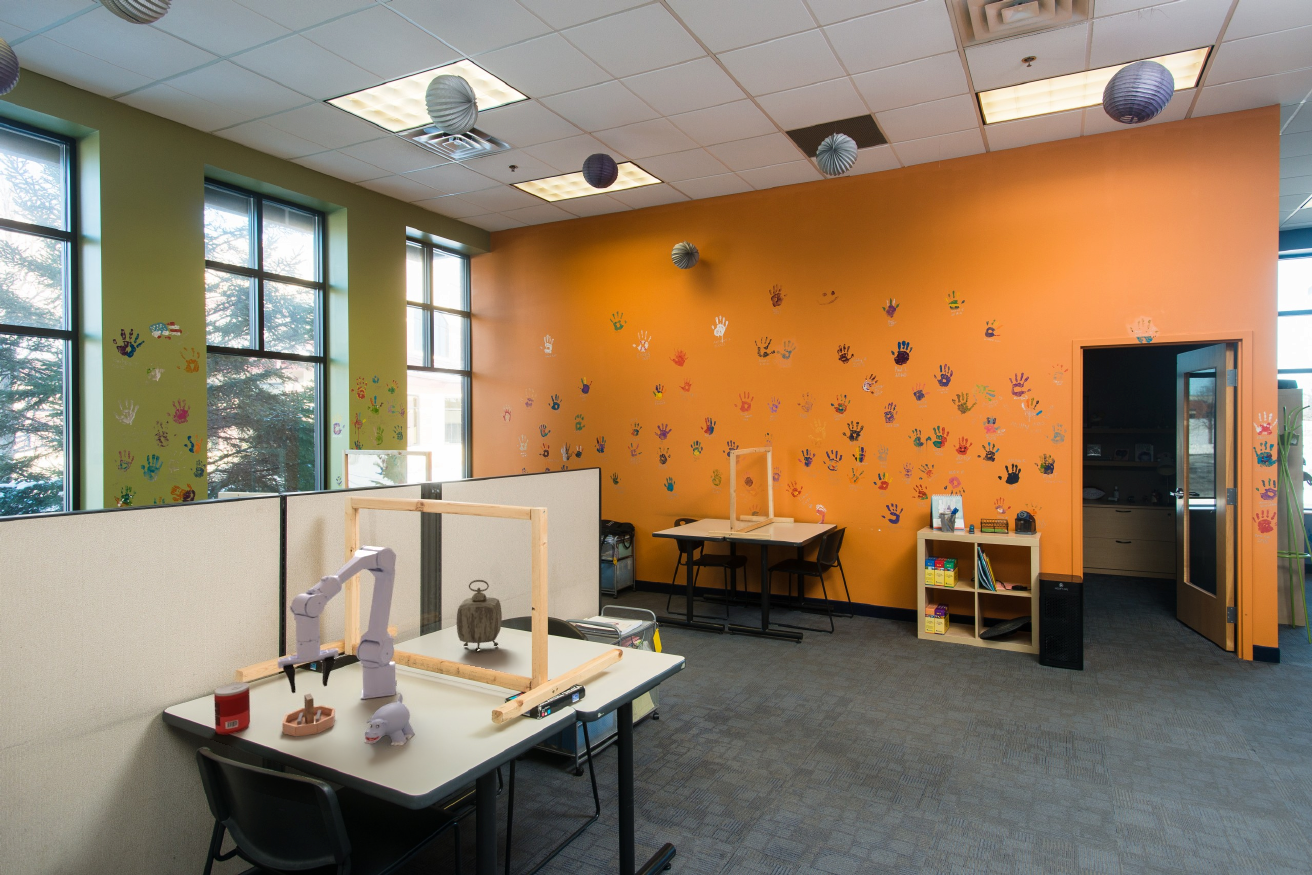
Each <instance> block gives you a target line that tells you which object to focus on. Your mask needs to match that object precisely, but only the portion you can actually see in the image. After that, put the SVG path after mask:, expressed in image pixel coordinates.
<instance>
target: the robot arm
mask: <svg viewBox="0 0 1312 875" xmlns="http://www.w3.org/2000/svg"><path fill="white" fill-rule="evenodd" d="M396 560H397V555H396V553H395V551H394V550H393V549H392V548H390V547H382V546H381V547H380V546H374V545H373V546H370V545H366V544H365V545H362V546H360V547H359V549H357V550H356V551H354V554H353V557H352V558H350V559H349V560H348V561H347V562H346V563H345V564H344V565H343V566H342V567H341V568H340V569H338V571H336V573H334V574H333V575H330V574H329V575H326V576H325V575H324V576H322V577H321V578H320V580H319V582H317V583H316V584H314V586H312V587H310V588H308V590H307V591H306V592H305V593H299V594H298V595H296V596H295V597H293V599H292V602H291V605H290V606H289V609H290V610H289V611H290V612H291V614H292V615H293V618H294V621H295V638H296V639H295V641H296V642H295V644H296V645H295V646H296V654H294V655H293V654H292V655H291V656H286V657H284V658H283V657H282V658H279V659H277V667H278V670H279V669H282V670H283V672H284V673H285V675H286V677H287V680H288V682H289V685H290V689H291V690H290V691H291V694H296V693H297V692H296V669H295V666H297V665H301V664H307V663H311V662H315V661H321V663H322V664H321V665H322V678H321V679H322V685H323V687H327V686H328V682H329V677H330V673H331V671H332V669H333V667H334V665H335V664H336V659H335V658H339V649H338V648H332V649H331V648H330V649H321V630H320V628H321V627H320V626H321V623H320V622H321V621H320V618H321V617H320V615H321V614H322V613H323V612H324V609H325V607H326V605H327V604H328V602H329V601H330V600H332V599H333V598H334V597H335V596H336V595H338V594H339V593H341V591H342V588H343V584H344V583H346V582H347V581H349V580H350V579H351V578H353V577H354V576H356V575H357V574H359V573H360V572H361V571H362V570H367V571H369V572H370V573H371V574H372V575H373V577H374V584H373V586H374V587H373V592H372V597H371V598H372V600H371V606H370V613H369V620H368V628H367V631H365V632H364V633H363V634H362V635H361V636H360V640H359V643H358V645H357V647H356V652H355V653H356V654H355V656H356V657H357V659H358V660H359V661H360V665H361V666H362V688H361V696H360V699H361V700H366V699H372V698H373V699H375V698H380V697H388V696H395V695H396V690H397V689H396V688H397V684H398V682H397V681H398V680H397V679H396V674H397V673H396V661H392V659H393V657H394V654H395V647H394V637H393V635H391V634H390V633H389V631H388V627H389V619H390V612H391V605H392V599H393V594H394V593H393V590H394V584H395V578H396V577H395V576H396V562H397V561H396Z"/></svg>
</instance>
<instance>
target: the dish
mask: <svg viewBox="0 0 1312 875" xmlns="http://www.w3.org/2000/svg"><path fill="white" fill-rule="evenodd" d="M335 720H336V708H335V707H331V706H326V705H314V723H311V724H307V723H306V721H305V707H302V708H299V709H296V710H294V711H292V712H289V713H288V714H285V715H284V717H283V720H282V724H281V725H282V734H286V735H290V736H293V737H303V736H309V735H315V734H319V733H321V732H324V731H325V730H327V729H330V728H331V727H334V725H335Z"/></svg>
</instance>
